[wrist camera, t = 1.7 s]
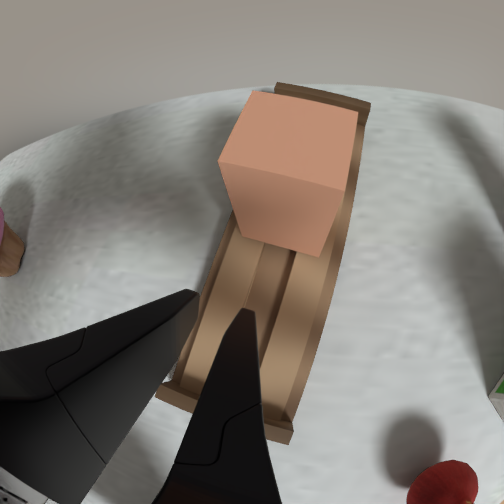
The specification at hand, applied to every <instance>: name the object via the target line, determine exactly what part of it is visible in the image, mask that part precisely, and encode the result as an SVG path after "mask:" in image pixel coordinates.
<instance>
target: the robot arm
mask: <svg viewBox="0 0 504 504" xmlns="http://www.w3.org/2000/svg"><path fill="white" fill-rule="evenodd" d="M199 299H200V296H199V293H198V292H195V291H192V290H189V289H184V290H181V291H179V292H176V293H173V294H171V295H168V296H166V297H163V298H161V299H158V300H155V301H153V302H150V303H148V304H145V305H142V306H140V307H137V308H134V309H132V310H129V311H127V312H124V313H121V314H119V315H116V316H113V317H111V318H108V319H106V320H103V321H100V322H98V323H95V324H92V325H90V326H87V328H85V327H84V328H81V329H79V330H76V331H73V332H71V333H68V334H65V335H62V336H59V337H56V338H52V339H49V340H45V341H42V342H38V343H34V344H30V345H26V346H22V347H19V348H15V349H11V350H6V351H0V504H45V503H46V501H47V500H48V499H51V500H53V501H55V502H57V503H59V504H81V502H82V501H83V499H84V498H85V496H86V495H87V493H88V492H89V490H90V489H91V487H92V486H93V484H94V483H95V481H96V480H97V478H98V477H99V475H100V474H101V472H102V471H103V469H104V468H105V466H106V464H107V463H108V462H109V460H110V459H111V457H112V456H113V454H114V453H115V451H116V450H117V448H118V447H119V445H120V444H121V442H122V441H123V439H124V438H125V436H126V435H127V434H128V432H129V431H130V429H131V428H132V426H133V425H134V423H135V422H136V420H137V419H138V417H139V416H140V414H141V413H142V411H143V410H144V408H145V407H146V405H147V404H148V402H149V401H150V399H151V398H152V396H153V395H154V394H155V392H156V391H157V389H158V388H159V386H160V385H161V383H162V382H163V380H164V379H165V377H166V376H167V374H168V373H169V371H170V370H171V368H172V367H173V365H174V364H175V362H176V361H177V359H178V357H179V355H180V353H181V351H182V349H183V347H184V345H185V343H186V341H187V339H188V337H189V335H190V333H191V331H192V329H193V327H194V325H195V323H196V321H197V319H198V314H199ZM152 504H282V502H281V498H280V495H279V491H278V487H277V483H276V479H275V475H274V471H273V468H272V464H271V460H270V456H269V451H268V446H267V441H266V436H265V428H264V419H263V406H262V395H261V381H260V367H259V353H258V339H257V325H256V313H255V311H253V310H250V309H247V308H241V309H240V310H239V312H238V313H237V315H236V316H235V318H234V319H233V321H232V322H231V324H230V325H229V327H228V328H227V330H226V331H225V333H224V335H223V337H222V340H221V343H220V345H219V348H218V350H217V353H216V355H215V358H214V361H213V363H212V366H211V368H210V371H209V373H208V376H207V379H206V381H205V384H204V386H203V389H202V391H201V394H200V397H199V399H198V402H197V404H196V407H195V409H194V412H193V415H192V417H191V420H190V422H189V425H188V427H187V430H186V432H185V435H184V438H183V440H182V443H181V445H180V448H179V450H178V453H177V455H176V458H175V461H174V464H173V466H172V468H171V471H170V473H169V475H168V477H167V479H166V481H165V483H164V485H163V487H162V488H161V490H160V492H159V493H158V495H157V496H156V498H155V499H154V501H153V502H152Z"/></svg>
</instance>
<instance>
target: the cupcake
mask: <svg viewBox="0 0 504 504" xmlns="http://www.w3.org/2000/svg"><path fill="white" fill-rule="evenodd" d="M23 252H24V244H23V242H22V240H21V239H20V238H19V237H18V236H17V235H16V234H15V233H14V232H13V231H12V230H11V229H10V228H9V226H8V225H7V223H6V222H5V221H4V213H3V211H2V209H1V208H0V277H9V276H12V275H14V274H16V273H17V271H18V270H19V264H20V259H21V257H22V255H23Z"/></svg>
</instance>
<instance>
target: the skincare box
mask: <svg viewBox="0 0 504 504" xmlns="http://www.w3.org/2000/svg"><path fill="white" fill-rule="evenodd" d="M488 397H489V399H490V400H491V402H492V403H493V405H494V407H495V408H496V410H497V411H498V413H499V415H500V417H501V418H502V420H503V422H504V374H503V375H502V377H501V378H500V380H499V381H498V383H497V384H496V386H495V387H494V389H493V390H492V391H491V393H490V394H489V396H488Z"/></svg>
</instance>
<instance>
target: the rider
mask: <svg viewBox="0 0 504 504" xmlns="http://www.w3.org/2000/svg"><path fill="white" fill-rule="evenodd" d="M357 118H358V112H356V111H352V110H349V109H345V108H341V107H337V106H333V105H329V104H324V103H320V102H315V101H311V100H306V99H301V98H296V97H290V96H285V95H279V94H273V93H266V92H259V91H252V93H251V95H250V97H249V99H248V101H247V102H246V104H245V106H244V108H243V110H242V112H241V114H240V116H239V118H238V120H237V122H236V124H235V126H234V128H233V130H232V132H231V134H230V136H229V138H228V140H227V142H226V144H225V147H224V149H223V151H222V153H221V155H220V157H219V159H218V164H219V167H220V170H221V173H222V176H223V180H224V183H225V186H226V189H227V192H228V195H229V198H230V201H231V204H232V207H233V210H234V213H235V216H236V219H237V222H238V225H239V229H240V232H241V235H242V236H243V237H247V238H250V239H254V240H257V241H261V242H265V243H268V244H272V245H276V246H279V247H283V248H286V249H290V250H294V251H297V252H301V253H304V254H308V255H311V256H315V257H319V256H320V254H321V251H322V249H323V246H324V244H325V241H326V239H327V236H328V234H329V231H330V229H331V226H332V224H333V221H334V219H335V216H336V213H337V211H338V208H339V206H340V203H341V200H342V198H343V195H344V192H345V188H346V183H347V178H348V172H349V167H350V161H351V156H352V150H353V144H354V138H355V131H356V125H357Z"/></svg>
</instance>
